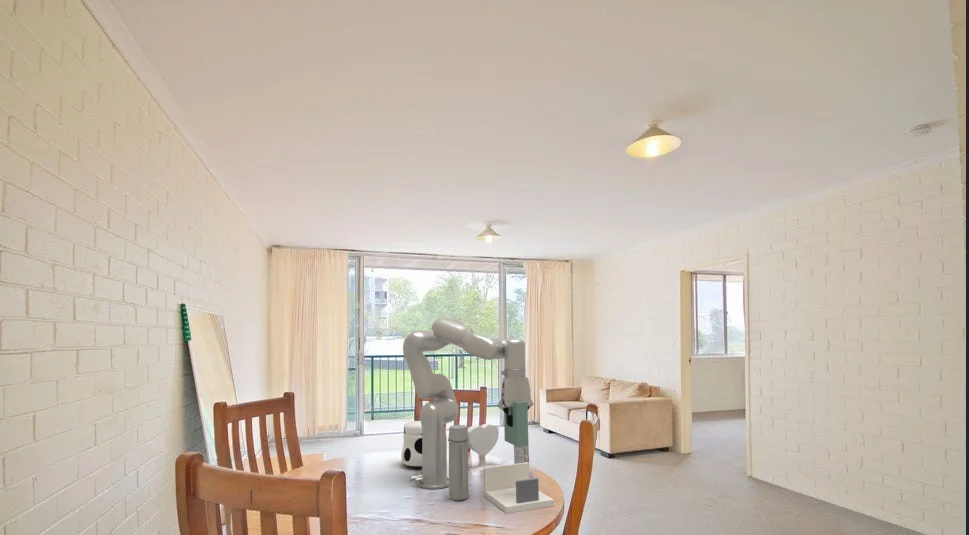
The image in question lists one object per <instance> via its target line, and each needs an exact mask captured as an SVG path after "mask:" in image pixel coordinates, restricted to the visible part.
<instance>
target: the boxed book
mask: <svg viewBox="0 0 969 535" xmlns="http://www.w3.org/2000/svg"><path fill="white" fill-rule="evenodd" d="M503 406H504V407H505V408H506V405H503ZM503 415H504V416H503V417H504V420H503V421H504V422H503V423H504V424H503V425H504V441H505V442H507V443H508V444H510V445H512V446H514V445H515V446H517V447H524V446H528V443H529V409H528V402H526V401H518V402H514V407H512V413H511V415H512V416H513V426H512V427H510V426H508V425H507V420H506V414H505V412H504V411H503Z"/></svg>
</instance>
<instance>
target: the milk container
mask: <svg viewBox="0 0 969 535" xmlns="http://www.w3.org/2000/svg"><path fill="white" fill-rule="evenodd" d="M400 456H401V462H402V464H403V466H406V467H408V468H413V469H422V426H421V420H413V421H408V422H406V423H404V425H403V445H402V450H401V455H400Z"/></svg>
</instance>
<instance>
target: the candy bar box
mask: <svg viewBox="0 0 969 535" xmlns="http://www.w3.org/2000/svg"><path fill="white" fill-rule="evenodd" d="M529 447H530V446H529V442H528V446H524V447H517V446H515V445H513V458H514V459H513V460H514V461H513V464H518V463H526V462H528V463H529V464H530V448H529Z"/></svg>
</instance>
